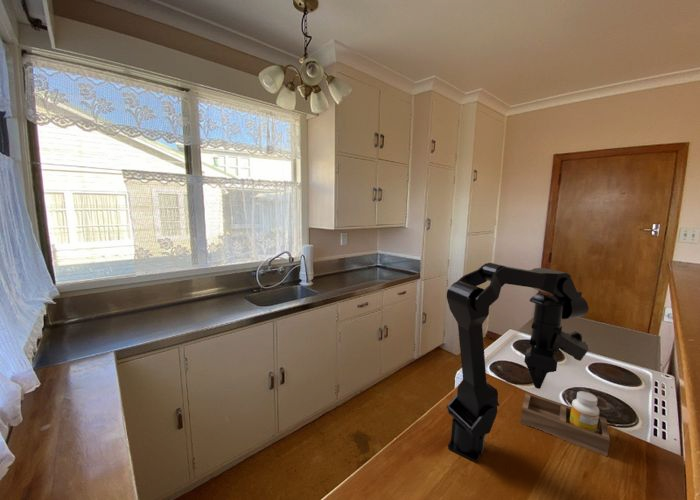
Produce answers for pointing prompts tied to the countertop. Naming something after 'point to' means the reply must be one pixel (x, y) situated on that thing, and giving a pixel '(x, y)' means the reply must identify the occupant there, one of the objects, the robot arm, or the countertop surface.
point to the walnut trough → (563, 423)
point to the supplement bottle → (585, 411)
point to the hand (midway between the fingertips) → (539, 379)
